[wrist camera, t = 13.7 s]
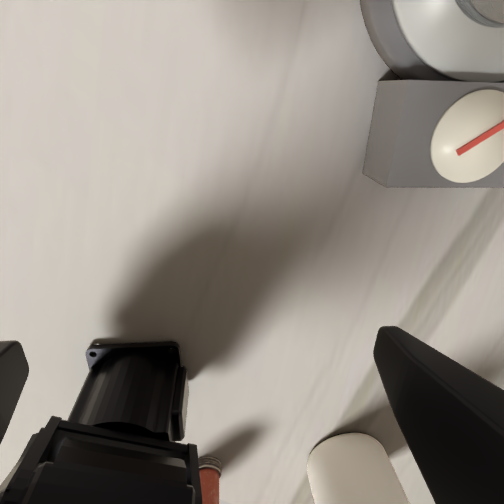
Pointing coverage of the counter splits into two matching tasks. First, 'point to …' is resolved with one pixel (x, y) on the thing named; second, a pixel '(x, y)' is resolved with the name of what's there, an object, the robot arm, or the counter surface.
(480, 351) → the counter surface
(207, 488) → the lighter
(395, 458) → the counter surface
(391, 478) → the milk bottle
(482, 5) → the disc
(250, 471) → the counter surface
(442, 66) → the kitchen scale
